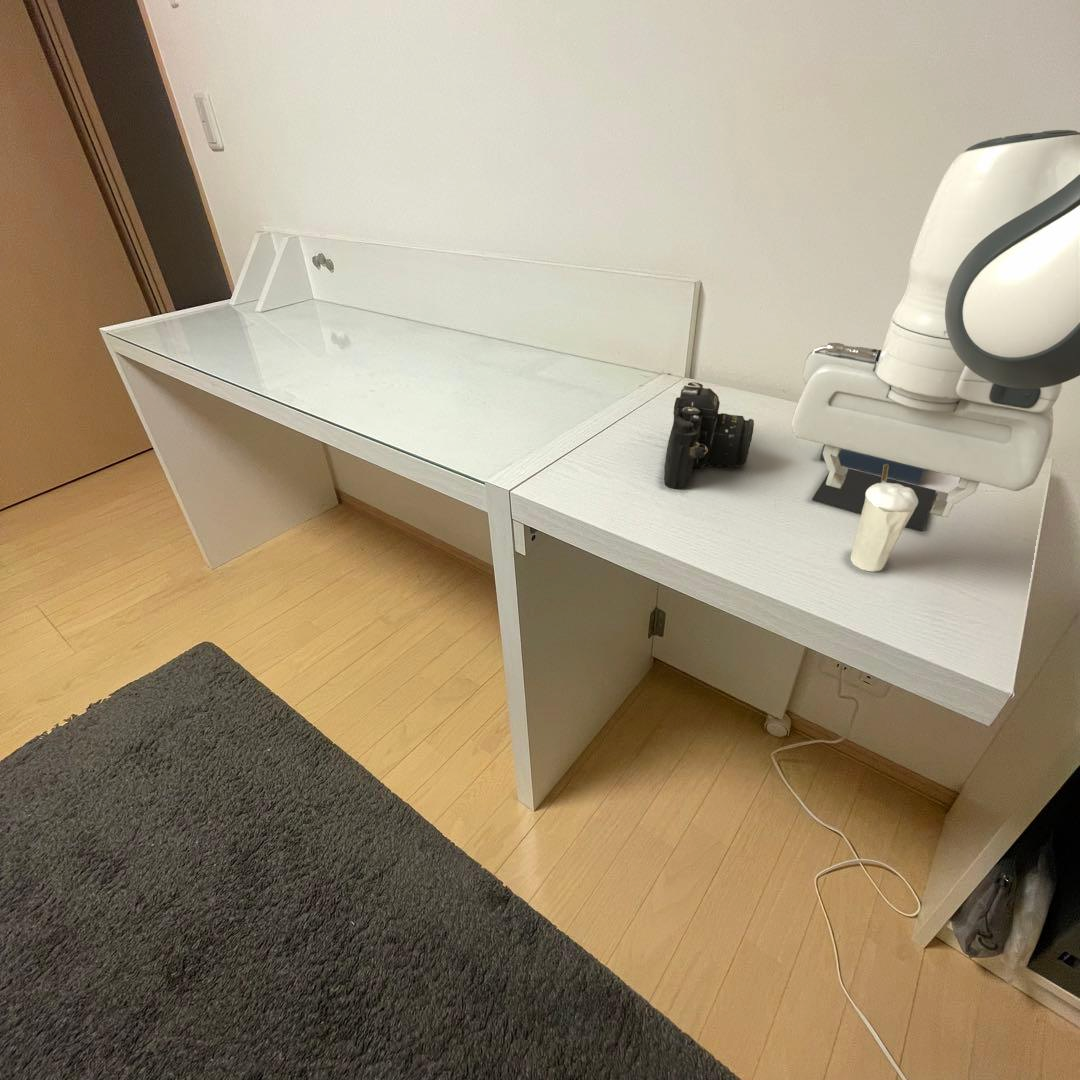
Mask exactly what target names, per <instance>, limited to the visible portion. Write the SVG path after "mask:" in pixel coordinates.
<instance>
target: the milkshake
mask: <svg viewBox="0 0 1080 1080" xmlns="http://www.w3.org/2000/svg"><path fill="white" fill-rule="evenodd" d="M887 473H888V464H884V466H883V473H882V476H881V477H882V480H881V483H877V484H874V485H872V486H871V487H869V488H868V489H867V491H866V494H865V499H864V503H863V508H862V513H861V514H860V518H859V521H858V526H857V528H856V529H857V530H856V533H855V538H854V542H853V547H852V550H851V554H850V561H851V562H852V564H853V566H855V567H857V568H858V569H860V570H863V571H865V572H866V571H867V572H872V573H873V572H874V573H875V572H881V571H882V570H883V569H884V567H885V566H886V564H887V562H888V560H889V558H890V556H891V554H892V552H893V551H894V548H895V547H896V544H897V543H898V540H899V539H900V538H901V537H900V536H901V535H902V533H903V531H904V529H905V528H906V527H905V526H906V524H907V522H908V521H909V519H910V517H911V515H912V513H913V512H914V510H915V508H916V506H917V505H918V498H917V496H916V494H915V492H914V490H913V489H911V488H909V487H904V486H902V485H900V484H893V483H886V480H887V478H888V477H887Z"/></svg>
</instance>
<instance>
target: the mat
mask: <svg viewBox="0 0 1080 1080" xmlns="http://www.w3.org/2000/svg"><path fill="white" fill-rule="evenodd" d="M829 472H830V471H829V470H828V473H827V475H826V476H825V478H824V479H823V480H822V482H821V483H820V486H819V487H818V488H817V490H816V491H815V492H814V493H815V494H814V495H813V496H812V498H811V501H813V502H816V503H819V504H823V505H826V506H830V507H834V508H837V509H840V510H844V511H847V512H851V513H854V514H859V515H861V513H862V508H863V503H864V499H865V494H866V491H867V489H868V488H869V487H871V486H872V485H874V484H877V483H881V480H882V476H881V475H877V474H873V473H869V472H865V471H861V470H857V469H853V468H849V469H848V473H847V475H846V476H845V477H846V479H845V481H844V484H843V486H842V488H841V489H839V488H836V487H832V486H828V485H826V481H827V478H828V475H829ZM886 483H893V484H900V485H902V486H904V487H909V488H911V489H913V490H914V492H915V494H916V496H917V498H918V505H917V506H916V508H915V510H914V512H913V513H912V515H911V517H910V519H909V521H908V522H907V524H906V526H905V527H904V528H908V529H912V530H914V531H919V532H923V530H924V527H925V525H926V521H927V519H928V516H929V514H930V511H931V507H932V505H933V502H934V501H933V500H934V498H935V496H936V492H937V490H936V489H934V488H933V489H932V488H928V487H926V486H925V487H924V486H921V485H917V484H913V483H909V482H905V481H901V480H897V479H893V478H889V477H887V480H886Z"/></svg>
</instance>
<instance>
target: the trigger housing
mask: <svg viewBox="0 0 1080 1080" xmlns="http://www.w3.org/2000/svg"><path fill="white" fill-rule="evenodd" d="M824 447H825V444H823V446H822V450H821V453H820V456H819V461H821V462H825V459H824V456H823V450H824ZM838 457H839V461H840V464H841V466H844V467H847V468H849V469H853V470H857V471H861V472H865V473H869V474H873V475H877V476H881V477H882V473H883V466H884V464H888V473H887V478H889V479H893V480H897V481H901V482H905V483H909V484H913V485H917V486H919V484H920V482H921V479H922V478H923V475H924V472H925V469H923V468H919V467H915V466H911V465H907V464H903V463H899V462H895V461H891V460H886V459H882V458H878V457H874V456H870V455H866V454H862V453H858V452H854V451H850V450H846V449H841V451H840V453H839V454H838Z"/></svg>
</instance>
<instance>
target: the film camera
mask: <svg viewBox="0 0 1080 1080" xmlns="http://www.w3.org/2000/svg"><path fill="white" fill-rule="evenodd" d="M720 405H721V404H720V399H719V396H718V394H717V393H716V392H715V391H713V389H712V388H709V387H708V388H705V387H704V385H703V384H702V383H699V382H696V381H691V382H688V383H687V384H684V386H683V387H682V388H681V390H680V396H679V397H676V398H675V401H674V404H673V421H672V426H671V429H670V434H669V438H668V442H667V447H666V453H665V462H664V468H663V469H664V470H663V471H664V473H663V481H664V486H665V487H668V488H672V489H675V490H677V489H679V490H682V489H686V488H687V487H688V486H689V484H690V481H691V477H692V472H693V470H695V469H696V470H701V469H702V468H703V467H705V466H709V467H721V468H723V467H724V468H727V467H730V468H737V467H739V468H741V467H744V465H745V464H746V463H747V460H748V455H749V451H750V447H751V443H752V439H753V434H754V427H755V420H754V419H752V418H749V419H747V420H746V419H745V417H744V415H737V414H730V413H729V414H728V413H724V412H721V413H719V410H720Z"/></svg>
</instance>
